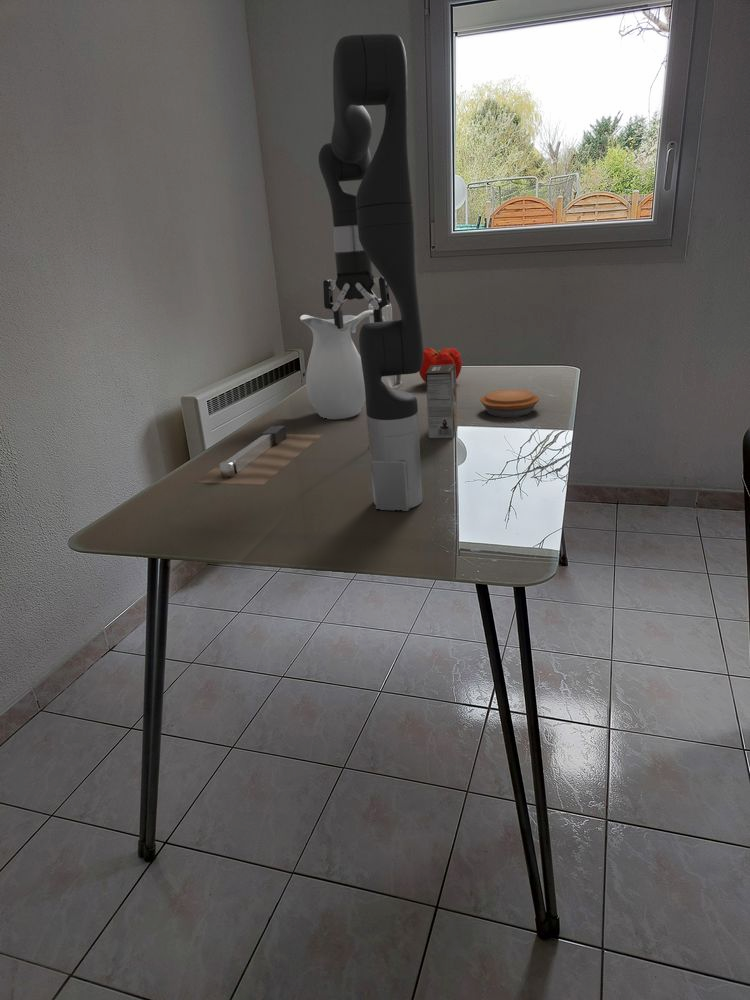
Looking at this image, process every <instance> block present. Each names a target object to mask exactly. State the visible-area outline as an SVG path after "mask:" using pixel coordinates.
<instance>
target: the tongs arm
mask: <svg viewBox="0 0 750 1000" xmlns="http://www.w3.org/2000/svg"><path fill="white" fill-rule="evenodd" d="M286 434H287V431H286V425H278V427H276V428H275V429H273V430H272V431H271V432H269V433H268V435H266V436H265V437H263V438H262V439H261V440H259V441H258V442H256V443H255V444H254V445H252V446H251V447H249V448H248V449H246V450H245V451H244V452H242V453H241V454H239V455H238V456H237V457H235V458H234V459H232V460H231V461H232V462H233V466H234V472H235V473H238V472H239V471H240V470H242V469H243V468H244V467H246V466H247V465H248V464H250V463H251V462H252V461H254V460H255V459H256V458H257V457H259V456H260V455H261V454H263V453H264V452H265V451H267V450H268V449H269V448H271V447H272V446H273V445H278V444H279V443H280V442H282V441H283V440H284V439H286V438H287V437H286Z"/></svg>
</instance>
